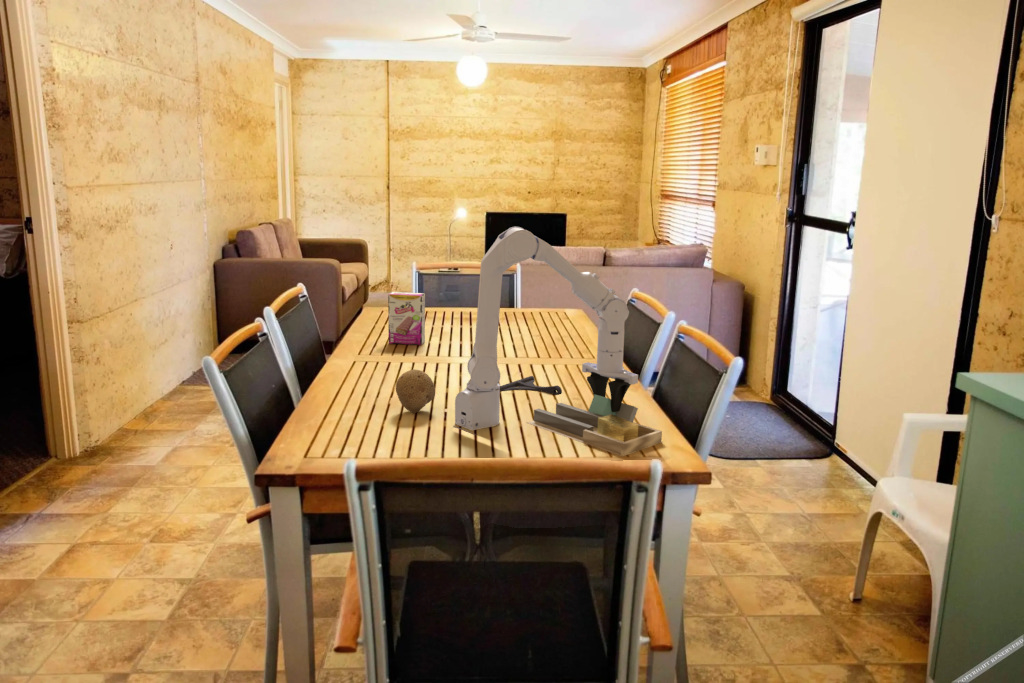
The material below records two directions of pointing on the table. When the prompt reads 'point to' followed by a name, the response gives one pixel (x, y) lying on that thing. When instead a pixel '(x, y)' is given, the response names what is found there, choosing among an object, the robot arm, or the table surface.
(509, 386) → the bracket
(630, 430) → the yellow cube
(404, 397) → the natural sponge
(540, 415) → the slot board
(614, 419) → the golden brown cube
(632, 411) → the two-tone l-shaped block
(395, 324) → the candy bar box
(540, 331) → the table surface
